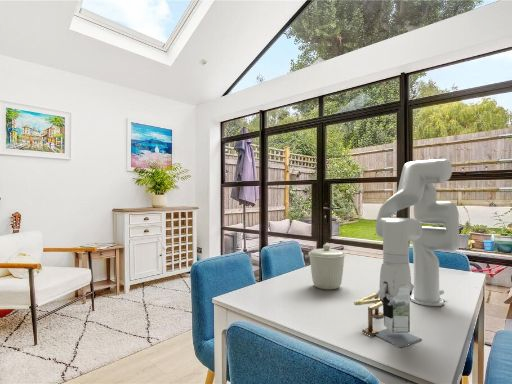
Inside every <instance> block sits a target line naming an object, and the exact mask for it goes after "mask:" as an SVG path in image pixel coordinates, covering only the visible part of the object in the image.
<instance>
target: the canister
mask: <svg viewBox="0 0 512 384" xmlns="http://www.w3.org/2000/svg"><path fill="white" fill-rule="evenodd" d="M307 253H308V254H307V255H308V256H309V263H310V270H311V271H310V272H311V278H312V284H313V285H314V286H315V287H316V288H318V289H321V290H327V291H329V290H330V291H331V290H336V289H339V288H340V287H341V285H342V280H343V273H344V263H345V257H346V255H347V254H346V253H345V252H343V251H342V250H339V249H335V248H331V245H330V244H329V243H325V244H323V246H322V248H314V249H312V250H310V251H309V252H307Z"/></svg>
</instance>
